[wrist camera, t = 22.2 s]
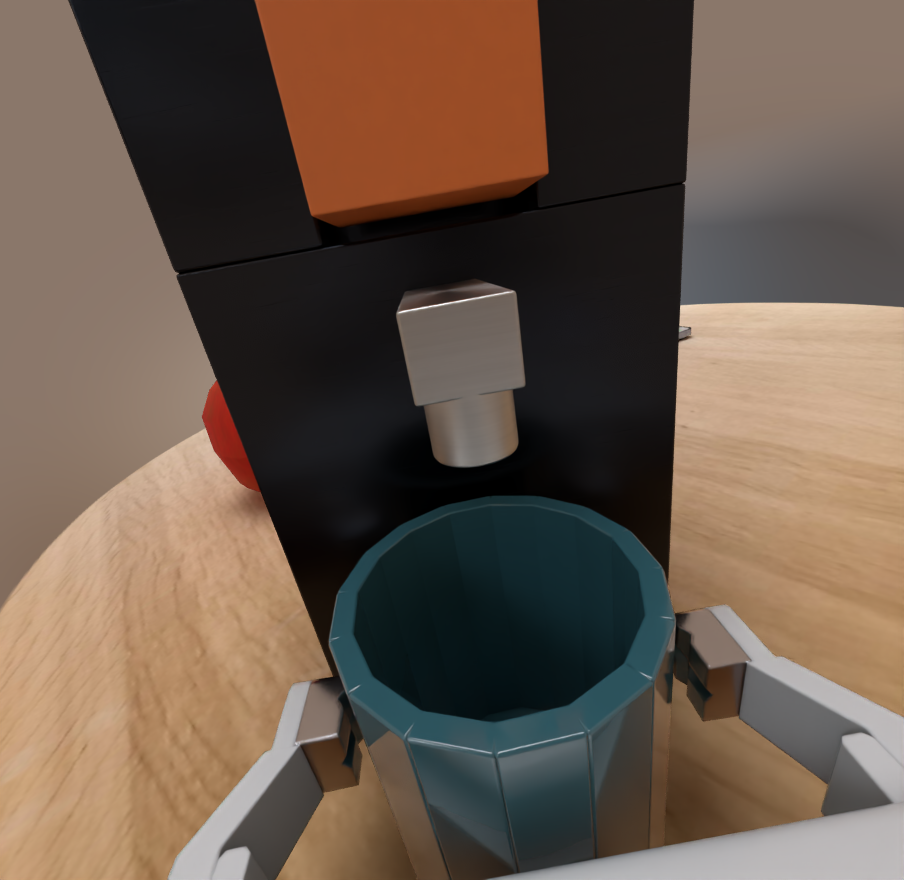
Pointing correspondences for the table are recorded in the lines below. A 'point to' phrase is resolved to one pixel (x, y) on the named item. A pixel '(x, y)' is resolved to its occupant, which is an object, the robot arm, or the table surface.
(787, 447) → the table surface
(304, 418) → the dispenser
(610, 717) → the cup
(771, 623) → the table surface
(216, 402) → the apple
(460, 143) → the button
